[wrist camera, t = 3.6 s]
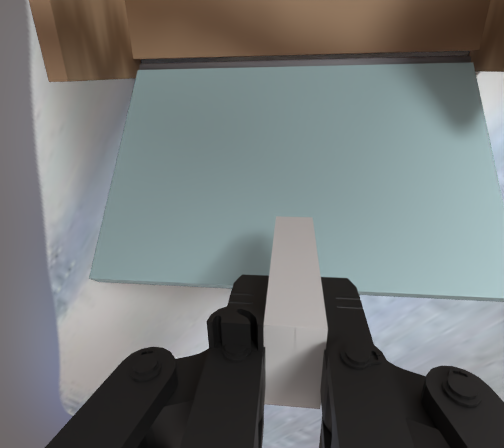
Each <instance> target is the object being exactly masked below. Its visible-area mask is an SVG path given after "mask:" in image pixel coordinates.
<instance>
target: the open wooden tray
mask: <svg viewBox="0 0 504 448" xmlns="http://www.w3.org/2000/svg"><path fill="white" fill-rule="evenodd" d="M29 3H30V7H31V11H32V15H33V19H34V24H35V28H36V32H37V36H38V40H39V44H40V48H41V52H42V56H43V60H44V64H45V68H46V72H47V76H48V80H49V82H64V81H87V80H108V79H129V78H136V75H137V71H138V70H140V69H139V67H140V64H141V59H175V58H213V57H251V56H289V55H328V54H366V53H404V52H442V51H470V52H469V55H470V56H471V62H473V64H474V69H475V71H497V72H504V0H29Z"/></svg>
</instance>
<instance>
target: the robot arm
mask: <svg viewBox="0 0 504 448" xmlns="http://www.w3.org/2000/svg"><path fill="white" fill-rule="evenodd" d="M207 330H208V340H209V349H207V350H206V351H204V352H202V353H200V354H196V355H193V356H189V357H183V358H178V359H175V358H174V356H173V355H172V353H171V352H170V351H168V350H166V349H164V348H159V347H149V348H144V349H141V350H138V351H136V352H134V353H132V354H131V355H129V356H128V357H127V358H126V359H125V360H123V361H122V362H121V364H120V365H119V366H118V367H117V368H116V369H115V370H114V371H113V373H112V374H111V375H110V376H109V377H108V378H107V379H106V380H105V381H104V383H103V384H102V385H101V386H100V387H99V388H98V389H97V390H96V391H95V393H94V394H93V395H92V396H91V397H90V398H89V399H88V400H87V401H86V403H85V404H84V405H83V406H82V407H81V408H80V409H79V410H78V411H77V413H76V414H75V415H74V416H73V417H72V418H71V419H70V420H69V421H68V423H67V424H66V425H65V426H64V427H63V428H62V429H61V430H60V432H59V433H58V434H57V435H56V436H55V437H54V438H53V439H52V441H50V443H49V444H48V445H47V446H46V447H45V448H262V440H263V427H264V404H267V405H279V406H291V407H303V408H314V409H320V406H322V424H321V434H320V444H319V448H504V402H503V401H502V400H501V399H500V397H499V396H498V395H497V394H496V393H495V392H494V391H493V390H492V389H491V388H490V387H489V386H488V385H487V384H486V383H485V382H484V381H483V380H481V379H480V378H479V377H477V376H475V375H474V374H472V373H470V372H468V371H466V370H463V369H460V368H457V367H453V366H439V367H436V368H433V369H431V370H430V371H429V373H428V374H427V375H426V376H423V375H419V374H416V373H413V372H410V371H407V370H404V369H402V368H399V367H397V366H395V365H393V364H392V363H390V362H388V361H387V360H386V358H385V357H384V355H383V353H382V352H381V351H380V350H379V349H378V348H377V347H376V346H375V345H374V344H373V341H372V337H371V334H370V330H369V327H368V324H367V320H366V317H365V314H364V310H363V307H362V303H361V300H360V297H359V293H358V290H357V287H356V286H355V285H354V284H353V283H352V282H351V281H350V280H349V279H348V278H336V277H321V275H320V268H319V261H318V253H317V246H316V239H315V231H314V224H313V217H281V216H276V220H275V229H274V238H273V247H272V255H271V264H270V273H269V276H267V275H245V274H242V275H241V276H240V277H239V278H238V279H237V280H236V281H235V282H234V284H233V287H232V291H231V295H230V298H229V303H228V305H227V307H224V308H221V309H218V310H217V311H216V312H214V313H213V314H211V316H210V317H209V319H208V320H207Z"/></svg>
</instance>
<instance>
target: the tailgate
mask: <svg viewBox="0 0 504 448" xmlns="http://www.w3.org/2000/svg"><path fill="white" fill-rule="evenodd" d="M139 69H140V70H138V71H137V75H136V80H135V84H134V88H133V92H132V97H131V101H130V105H129V109H128V114H127V118H126V122H125V127H124V131H123V135H122V139H121V144H120V148H119V152H118V156H117V161H116V165H115V169H114V174H113V178H112V182H111V186H110V191H109V195H108V199H107V204H106V208H105V212H104V216H103V221H102V225H101V229H100V233H99V238H98V242H97V246H96V251H95V255H94V259H93V263H92V268H91V272H90V276H89V279H92V280H95V281H98V282H109V283H130V284H150V285H171V286H191V287H211V288H232V287H233V284H234V282H235V281H236V280H237V279H238V278H239V277H240V276H241V275H242V274H245V275H267V276H269V273H270V264H271V255H272V247H273V238H274V229H275V220H276V216H281V217H313V224H314V231H315V239H316V246H317V253H318V261H319V268H320V275H321V277H336V278H348V279H349V280H350V281H351V282H352V283H353V284H354V285H355V286H356V287H357V290H358V293H359V295H374V296H394V297H415V298H435V299H455V300H476V301H496V302H504V204H503V200H502V195H501V190H500V186H499V181H498V176H497V172H496V167H495V162H494V158H493V153H492V148H491V144H490V139H489V134H488V130H487V125H486V120H485V116H484V111H483V106H482V102H481V97H480V92H479V88H478V83H477V78H476V74H475V69H474V64H473V62H471V56H470V55H467V56H427V57H387V58H346V59H306V60H266V61H225V62H185V63H145V64H140V67H139Z"/></svg>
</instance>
